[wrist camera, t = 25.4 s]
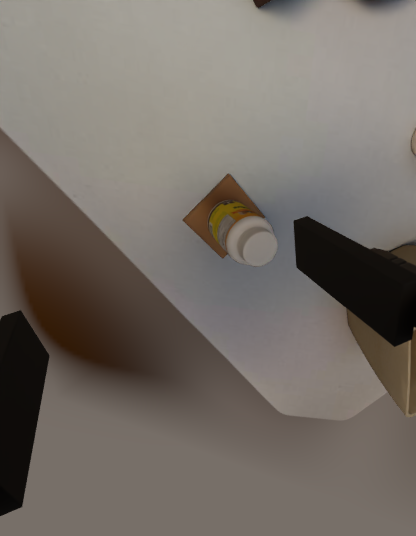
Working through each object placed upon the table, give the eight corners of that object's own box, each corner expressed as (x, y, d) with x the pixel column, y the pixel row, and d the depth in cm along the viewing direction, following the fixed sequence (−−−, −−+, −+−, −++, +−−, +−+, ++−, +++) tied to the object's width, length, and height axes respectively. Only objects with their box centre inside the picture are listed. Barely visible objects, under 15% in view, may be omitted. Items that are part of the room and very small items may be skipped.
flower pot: (334, 346, 61) (407, 421, 46) (321, 267, 51) (410, 331, 36) (417, 303, 63) (512, 363, 48) (421, 219, 53) (542, 262, 38)
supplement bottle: (253, 210, 42) (295, 238, 33) (231, 246, 43) (265, 281, 35) (220, 190, 39) (256, 214, 31) (197, 228, 41) (225, 262, 32)
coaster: (221, 257, 44) (222, 258, 44) (182, 219, 40) (183, 221, 40) (263, 216, 43) (265, 217, 43) (228, 173, 39) (229, 174, 39)
